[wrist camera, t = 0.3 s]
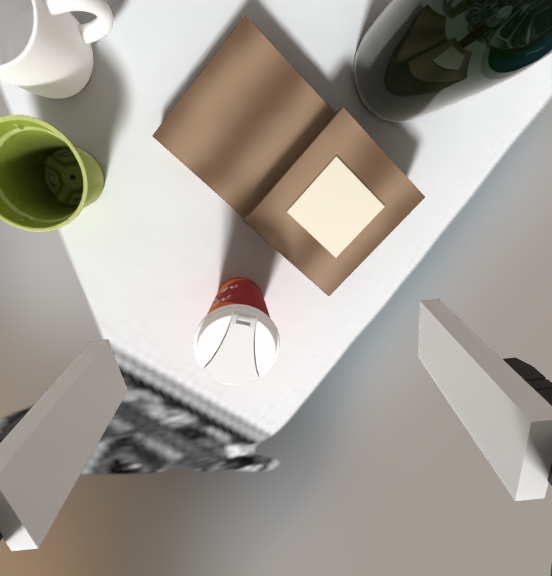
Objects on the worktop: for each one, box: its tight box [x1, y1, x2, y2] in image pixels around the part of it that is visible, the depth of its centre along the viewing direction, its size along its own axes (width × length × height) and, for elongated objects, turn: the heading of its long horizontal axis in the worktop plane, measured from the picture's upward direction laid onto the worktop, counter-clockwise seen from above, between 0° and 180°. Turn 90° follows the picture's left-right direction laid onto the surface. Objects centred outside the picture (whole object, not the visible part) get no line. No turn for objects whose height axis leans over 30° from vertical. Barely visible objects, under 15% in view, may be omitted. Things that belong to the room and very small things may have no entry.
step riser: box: [153, 15, 425, 296], centre depth 36 cm, size 24×14×6 cm, turn 48°
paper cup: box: [193, 278, 280, 385], centre depth 37 cm, size 8×8×14 cm
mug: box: [0, 0, 114, 99], centre depth 29 cm, size 12×8×10 cm
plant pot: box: [0, 115, 104, 232], centre depth 34 cm, size 9×9×9 cm
